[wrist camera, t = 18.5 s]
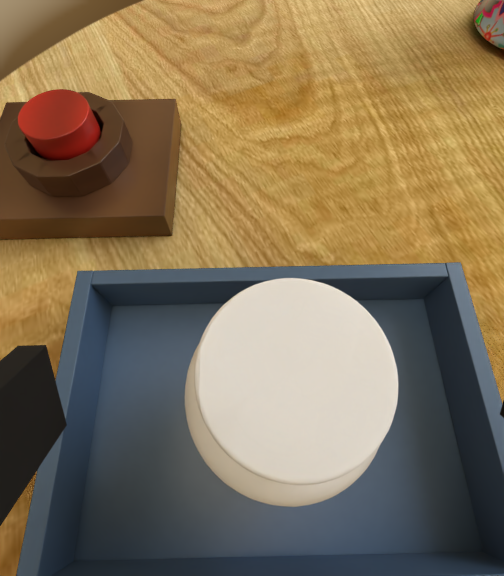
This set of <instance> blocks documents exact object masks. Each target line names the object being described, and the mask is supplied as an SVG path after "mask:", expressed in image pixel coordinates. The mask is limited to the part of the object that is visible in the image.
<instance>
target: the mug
mask: <svg viewBox="0 0 504 576" xmlns="http://www.w3.org/2000/svg"><path fill="white" fill-rule="evenodd" d="M474 23H475V26H476V28H477V30H478V31H479V33H480V34H481V35H482V36H483V37H484V38H485V39H486V40H487V41H489V42H490V43H492V44H493V45H495V46H497V47H499V48H501V49H503V50H504V0H481V1H480V2H479V3H478V5H477V6H476V8H475V11H474Z"/></svg>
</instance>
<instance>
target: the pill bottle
mask: <svg viewBox="0 0 504 576" xmlns="http://www.w3.org/2000/svg"><path fill="white" fill-rule="evenodd" d="M397 400H398V373H397V367H396V363H395V359H394V355H393V352H392V349H391V346H390V344H389V342H388V340H387V338H386V336H385V334H384V332H383V330H382V329H381V327H380V326H379V324H378V323H377V322H376V320H375V319H374V318H373V317H372V316H371V314H370V313H369V312H368V311H367V310H366V309H365V308H364V307H363V306H362V305H360V304H359V303H358V302H357V301H356V300H354V299H353V298H352V297H350V296H349V295H347V294H345V293H344V292H342V291H340V290H338V289H336V288H334V287H332V286H329V285H327V284H324V283H321V282H317V281H313V280H308V279H300V278H282V279H274V280H269V281H265V282H262V283H259V284H255V285H253V286H251V287H249V288H247V289H245V290H243V291H241V292H239V293H238V294H236V295H235V296H233V297H232V298H231V299H230V300H229V301H227V302H226V303H225V304H224V305H223V306H222V307H221V308H220V309H219V310H218V311H217V313H216V314H215V315H214V316H213V318H212V319H211V321H210V322H209V324H208V326H207V327H206V329H205V331H204V333H203V335H202V338H201V340H200V343H199V345H198V346H197V348H196V350H195V352H194V355H193V357H192V359H191V362H190V365H189V369H188V373H187V378H186V385H185V410H186V418H187V423H188V427H189V430H190V433H191V436H192V439H193V441H194V443H195V446H196V447H197V449H198V451H199V453H200V455H201V456H202V458H203V459H204V461H205V463H206V464H207V465H208V466H209V467H210V469H211V470H212V471H213V472H214V473H215V474H216V475H217V476H218V477H219V478H220V479H221V480H222V481H223V482H224V483H225V484H227V485H228V486H230V487H231V488H233V489H234V490H235V491H237V492H239V493H241V494H242V495H244V496H246V497H248V498H251V499H253V500H256V501H259V502H262V503H266V504H270V505H277V506H288V507H298V506H305V505H311V504H314V503H318V502H321V501H324V500H326V499H329V498H331V497H333V496H335V495H337V494H339V493H340V492H342V491H344V490H345V489H346V488H348V487H349V486H350V485H351V484H353V483H354V482H355V481H356V480H357V479H358V478H359V477H360V476H361V475H362V474H363V473H364V471H365V470H366V469H367V468H368V466H369V465H370V463H371V462H372V460H373V459H374V457H375V455H376V453H377V451H378V448H379V446H380V444H381V443H382V441H383V439H384V438H385V436H386V434H387V432H388V431H389V429H390V426H391V423H392V421H393V418H394V414H395V410H396V407H397Z"/></svg>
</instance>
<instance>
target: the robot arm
mask: <svg viewBox="0 0 504 576" xmlns="http://www.w3.org/2000/svg"><path fill="white" fill-rule="evenodd" d="M500 415H501V416H502V417H503V418H504V401H503V405H502V408H501V412H500ZM66 426H67V423H66V419H65V416H64V412H63V408H62V404H61V400H60V397H59V393H58V389H57V385H56V381H55V378H54V374H53V370H52V366H51V362H50V359H49V355H48V351H47V347H46V345H34V346H17V347H16V348H15V349H14V350H13V351H11V352H10V353H9V354H8V355H7V356H6V357H4V358H3V359H2V360H1V361H0V525H1V524H2V522H3V521H4V519H5V518H6V516H7V515H8V513H9V512H10V510H11V509H12V507H13V506H14V504H15V503H16V501H17V500H18V498H19V497H20V495H21V494H22V492H23V491H24V489H25V488H26V486H27V485H28V483H29V482H30V480H31V479H32V477H33V476H34V474H35V473H36V471H37V470H38V468H39V467H40V465H41V463H42V462H43V460H44V459H45V457H46V456H47V454H48V453H49V451H50V450H51V448H52V447H53V445H54V444H55V442H56V441H57V439H58V438H59V436H60V435H61V433H62V432H63V430H64V429H65V427H66Z"/></svg>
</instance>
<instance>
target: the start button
mask: <svg viewBox="0 0 504 576" xmlns="http://www.w3.org/2000/svg"><path fill="white" fill-rule="evenodd" d="M18 125H19V128H20V129H21V131H22V132H23V134H24V135H25V136H26V138H27V139H28V140H29V142H30V143H31V144H32V146H33V147H34V148H35V150H36V151H37V152H38V154H39V155H41V156H42V157H44V158H46V159H48V160H51V161H54V160H69V159H72V158H74V157H76V156H79V155H81V154H84V153H86V152H88V151H89V150H90V149H91V148H92V147H93V146H94V145H95V144H96V143H97V142H98V141H99V138H100V126H99V124H98V122H97V120H96V118H95V116H94V114H93V112H92V110H91V108H90V106H89V104H88V102H87V100H86V99H85V98H84V97H83V96H82V95H81V94H79V93H77V92H74V91H71V90H63V89H59V90H51V91H47V92H44V93H41V94H39V95H37V96H35V97H33V98H32V99H30V100H29V101H28V102H27V103H26V104H25V105H24V106H23V107H22V109H21V110H20V112H19V115H18Z"/></svg>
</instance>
